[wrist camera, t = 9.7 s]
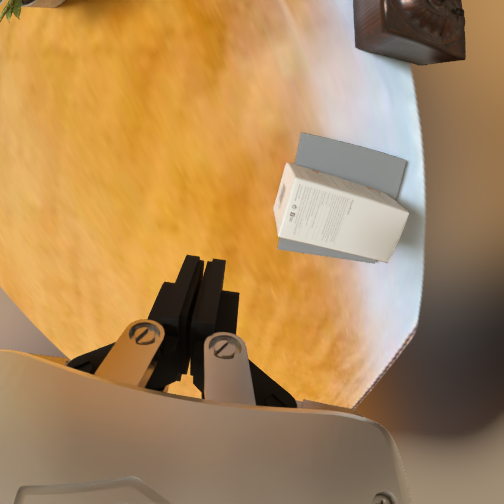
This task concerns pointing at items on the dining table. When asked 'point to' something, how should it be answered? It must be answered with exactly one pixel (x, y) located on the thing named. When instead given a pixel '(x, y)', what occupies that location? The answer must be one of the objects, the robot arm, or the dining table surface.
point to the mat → (350, 168)
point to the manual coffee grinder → (411, 29)
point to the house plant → (15, 6)
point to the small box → (337, 214)
